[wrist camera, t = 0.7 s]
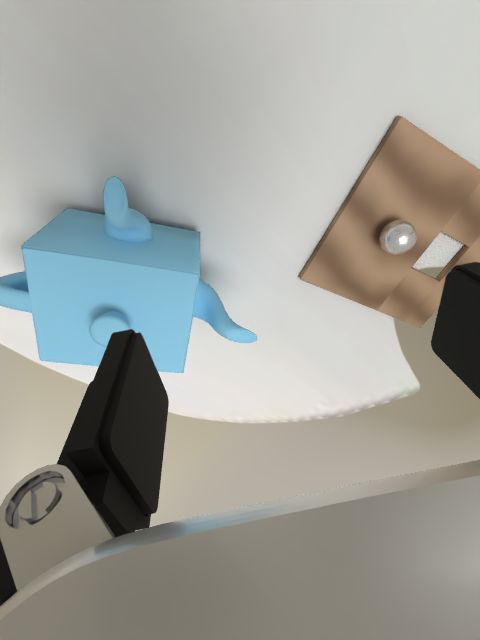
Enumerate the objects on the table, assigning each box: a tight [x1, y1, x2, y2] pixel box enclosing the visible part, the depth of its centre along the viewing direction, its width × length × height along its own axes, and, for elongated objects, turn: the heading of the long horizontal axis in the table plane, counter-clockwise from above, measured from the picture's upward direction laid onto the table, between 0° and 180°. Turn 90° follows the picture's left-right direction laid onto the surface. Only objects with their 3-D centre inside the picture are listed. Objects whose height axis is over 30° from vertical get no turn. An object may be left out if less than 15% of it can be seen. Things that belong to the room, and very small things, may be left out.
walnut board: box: [299, 116, 480, 327], centre depth 41 cm, size 20×22×1 cm
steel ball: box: [379, 220, 417, 255], centre depth 38 cm, size 4×4×4 cm
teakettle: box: [0, 176, 257, 373], centre depth 33 cm, size 19×19×15 cm
